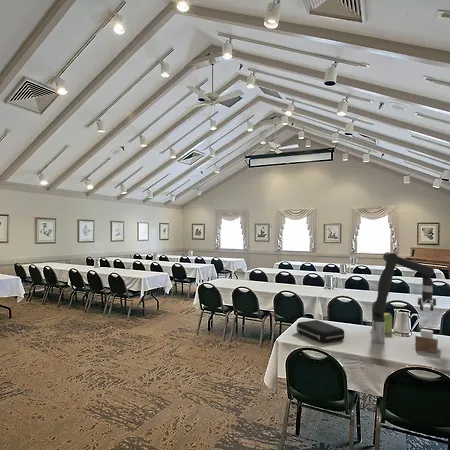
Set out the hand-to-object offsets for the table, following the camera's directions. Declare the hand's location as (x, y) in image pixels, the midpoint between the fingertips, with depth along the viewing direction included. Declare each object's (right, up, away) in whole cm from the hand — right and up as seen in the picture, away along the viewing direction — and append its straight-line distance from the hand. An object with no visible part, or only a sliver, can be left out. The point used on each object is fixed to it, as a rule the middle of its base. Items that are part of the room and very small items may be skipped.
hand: (426, 310), depth 289 cm
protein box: (-21, -27, +36) cm, 49 cm away
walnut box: (-7, -27, -12) cm, 30 cm away
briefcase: (-81, -27, +18) cm, 87 cm away
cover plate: (-7, -19, -12) cm, 23 cm away
